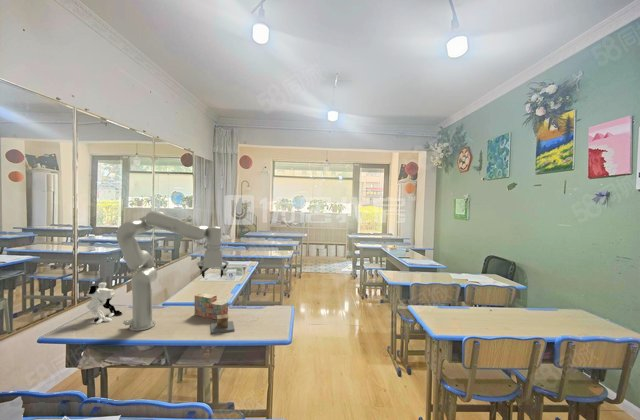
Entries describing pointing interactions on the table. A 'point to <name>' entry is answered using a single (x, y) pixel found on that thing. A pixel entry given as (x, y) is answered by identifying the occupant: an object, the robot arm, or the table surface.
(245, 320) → the table surface
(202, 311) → the stack of blocks
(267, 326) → the table surface
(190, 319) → the table surface
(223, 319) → the walnut cube
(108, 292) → the robot toy
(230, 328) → the mat
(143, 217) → the robot arm
